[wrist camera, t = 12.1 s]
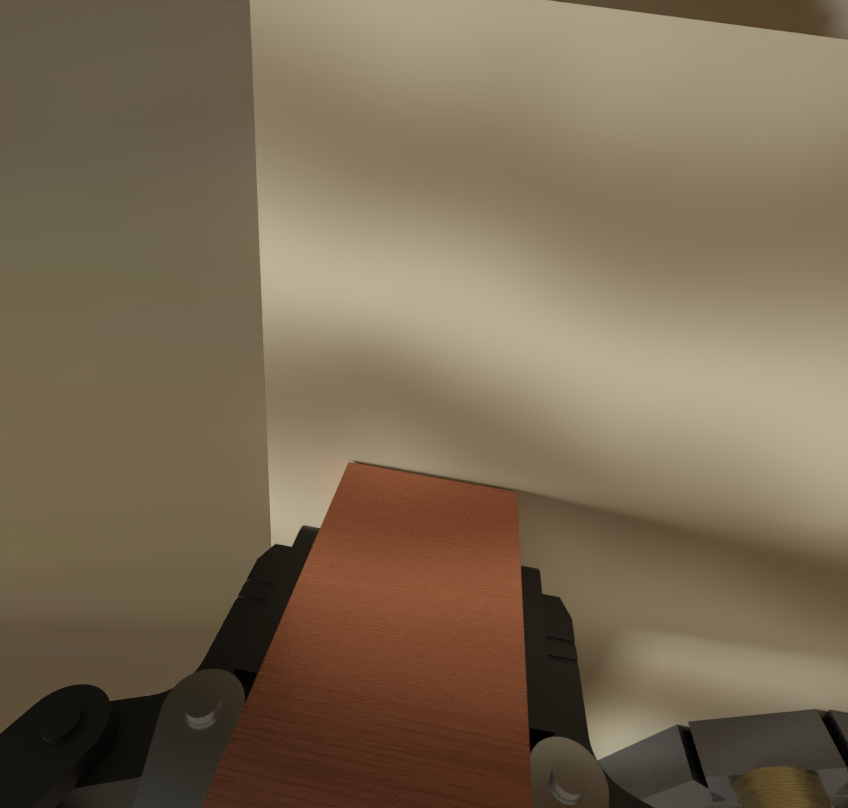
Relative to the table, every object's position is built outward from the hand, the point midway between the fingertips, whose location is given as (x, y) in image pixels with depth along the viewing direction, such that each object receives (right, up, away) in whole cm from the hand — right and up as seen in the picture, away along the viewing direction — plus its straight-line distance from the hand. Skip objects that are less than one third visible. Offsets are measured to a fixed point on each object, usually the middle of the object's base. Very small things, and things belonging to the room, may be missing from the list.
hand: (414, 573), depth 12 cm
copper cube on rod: (-1, -5, +4) cm, 7 cm away
